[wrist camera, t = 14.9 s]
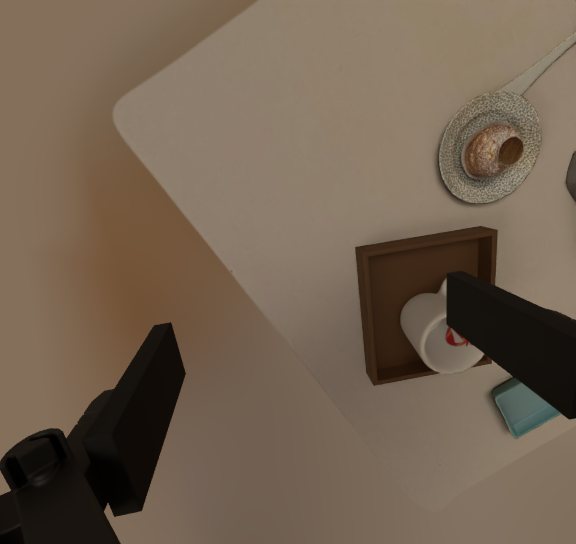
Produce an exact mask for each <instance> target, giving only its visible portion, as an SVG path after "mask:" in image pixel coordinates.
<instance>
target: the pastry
mask: <svg viewBox="0 0 576 544" xmlns="http://www.w3.org/2000/svg"><path fill="white" fill-rule="evenodd" d="M541 140H542V131H541V125H540V122H539V119H538V115H537V113H536V110H535V109H534V108H533V106H532V105H531V104H530V103H529V102H528V100H526V99H525V98H524V97H522V96H521V95H519V94H517V93H514V92H510V91H494V92H489V93H486V94H483V95H481V96H478V97H476V98H474V99H473V100H471V101H470V102H468V103H467V104H466V105H464V106H463V107H462V108H461V109H460V110H459V111H458V112H457V113H456V115H455V116H454V117H453V119H452V120H451V122H450V124H449V125H448V127H447V129H446V131H445V133H444V136H443V139H442V142H441V146H440V151H439V166H440V172H441V175H442V179H443V180H444V182H445V184H446V186H447V187H448V189H449V190H450V191H451V192H452V193H453V194H454V195H455V196H456V197H458V198H459V199H461V200H463V201H466V202H469V203H489V202H493V201H496V200H498V199H501V198H503V197H505V196H507V195H509V194H510V193H511V192H513V191H514V190H515V189H517V188H518V187H519V186H520V185H521V184H522V182H523V181H524V180H525V179H526V177H527V176H528V174H529V173H530V171H531V170H532V168H533V166H534V164H535V161H536V159H537V157H538V154H539V151H540V147H541Z"/></svg>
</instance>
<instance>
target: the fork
mask: <svg viewBox="0 0 576 544" xmlns="http://www.w3.org/2000/svg"><path fill="white" fill-rule="evenodd" d="M575 42H576V32H575V33H574V34H572V35H571V36H570V37H569V38H567V39H566V40H565V41H564V42H563V43H561V44H560V45H559V46H558V47H557V48H555V49H554V50H553V51H552V52H550V53H549V54H548V55H547V56H546V57H544V58H543V59H542V60H540V61H539V62H538V63H536V64H535V65H534V66H532V67H531V68H530V69H528V70H527V71H526V72H524V73H523V74H521V75H520V76H518V77H517V78H516V79H514V80H513V81H511V82H510V83H508V84H507V85H505V86H504V87H503V88H501V89H500V90H498V91H510V92H514V93H517V94H519V95H522V94H523V93H524V92H525V91H526V89H527V88H528V87H529V86H530V85H531V84H532V83H533V82H534V81H535V80H536V79H537V78H538V77H539V76H540V75H541V74H542V73H543V72H544V71H545V70H546V69H547V68H548V67H549V66H550V65H551V64H552V63H553V62H554V61H555V60H556V59H557V58H558V57H559V56H560V55H561V54H563V53H564V52H565V51H566V50H567V49H568V48H569V47H570V46H571V45H573V44H574V43H575Z"/></svg>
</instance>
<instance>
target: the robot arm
mask: <svg viewBox="0 0 576 544" xmlns="http://www.w3.org/2000/svg"><path fill="white" fill-rule="evenodd" d="M446 325H448V326H449V327H450V328H452V329H453V330H454V331H455V332H457V333H458V334H459V335H461V336H462V337H463V338H464V339H466V340H467V341H468V342H470V343H471V344H472V345H473V346H475V347H476V348H477V349H479V350H480V351H481V352H483V353H484V354H485V355H486V356H488V357H489V358H490V359H492V360H493V361H494V362H495V363H497V364H498V365H499V366H501V367H502V368H503V369H505V370H506V371H507V372H508V373H510V374H511V375H512V376H514V377H515V378H516V379H517V380H519V381H520V382H521V383H523V384H524V385H525V386H526V387H528V388H529V389H530V390H532V391H533V392H534V393H536V394H537V395H538V396H539V397H541V398H542V399H543V400H545V401H546V402H547V403H548V404H550V405H551V406H552V407H554V408H555V409H556V410H558V411H559V412H560V413H561V414H563V415H564V416H565V417H567V418H568V419H574V418H576V320H575V319H571V318H570V317H568V316H566V315H564V314H561V313H559V312H557V311H553V310H549V309H545V308H542V307H540V306H538V305H536V304H533V303H531V302H529V301H527V300H525V299H523V298H520V297H518V296H516V295H514V294H512V293H510V292H507V291H505V290H503V289H501V288H499V287H497V286H494V285H492V284H490V283H488V282H486V281H484V280H481V279H479V278H477V277H475V276H473V275H471V274H468V273H466V272H464V271H462V270H461V271H456V272H450V273H447V284H446ZM185 374H186V373H185V369H184V366H183V362H182V359H181V355H180V352H179V348H178V345H177V341H176V338H175V334H174V331H173V328H172V324H171V323H165V324H160V325H155V326H153V328H152V330H151V331H150V333H149V334H148V336H147V338H146V339H145V341H144V343H143V344H142V346H141V347H140V349H139V350H138V352H137V353H136V355H135V357H134V358H133V360H132V362H131V363H130V365H129V366H128V368H127V370H126V371H125V373H124V374H123V376H122V377H121V379H120V380H119V382H118V384H117V385H116V387H115V388H114V389H112V390H107V391H104V392H103V393H101V394H100V395H99V396H98V397H97V398H96V399H94V400H93V401H92V402H91V404H90V405H89V406H88V408H87V409H86V411H85V412H84V415H82V417H81V418H80V419H79V421H78V424H77V425H75V427H74V428H73V430H72V431H71V432H70V434H69V435H68V437H67V438H66V437H65V435H64V433H63V431H61V430H60V429H53V428H52V429H51V428H50V429H46V430H43V431H39V432H37V433H35V434H33V435H30V436H28V437H27V438H25V439H23V440H22V441H20V442H19V443H17V444H16V445H15V446H14V447H12V448H11V449H10V450H9V451H8V452H7V453H6V454H5V456H4V457H3V458H2V459H1V461H0V471H1V473H2V474H3V476H4V478H5V480H6V482H7V483H8V485H9V487H10V489H11V491H10V492H7V493H5V494H3V495H0V544H121V543H120V542H119V540H118V538H117V536H116V534H115V532H114V530H113V528H112V527H111V525H110V523H109V521H108V519H107V518H106V515H105V513H104V510H105V508H106V506H107V503H109V505H110V508H111V510H112V512H113V515H114V517H116V516H121V515H125V514H130V513H135V512H139V511H142V509H143V505H144V502H145V499H146V496H147V493H148V490H149V487H150V484H151V480H152V477H153V474H154V471H155V468H156V465H157V461H158V459H159V455H160V452H161V449H162V446H163V443H164V440H165V437H166V434H167V431H168V427H169V424H170V421H171V418H172V415H173V412H174V409H175V406H176V402H177V399H178V396H179V393H180V390H181V387H182V384H183V381H184V377H185Z"/></svg>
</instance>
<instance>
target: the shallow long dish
mask: <svg viewBox="0 0 576 544" xmlns="http://www.w3.org/2000/svg"><path fill="white" fill-rule="evenodd" d="M493 396H494V399H495V402H496V403H497V405H498V407H499V409H500V411H501V413H502V415H503V417H504V419H505V421H506V423H507V425H508V427H509V430H510V432H511V434H512V436H513V438H514V439H517V438H519V437H521V436H523V435H524V434H526V433H528V432H530V431H531V430H533V429H535V428H537V427H539V426H540V425H542V424H544V423H546V422H548V421H549V420H551V419H553V418H555V417H556V416H558V415H560V414H561V413H560V412H559V411H558V410H556V409H555V408H554V407H552V406H551V405H550V404H548V403H547V402H546V401H545V400H543V399H542V398H541V397H539V396H538V395H537V394H536V393H534V392H533V391H532V390H530V389H529V388H528V387H526V386H525V385H524V384H523V383H521V382H520V381H519V380H517V379H516V378H513V379H511V380H509V381H508V382H506V383H504V384H502V385H501V386H499V387H497V388H496V389H494V390H493Z"/></svg>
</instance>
